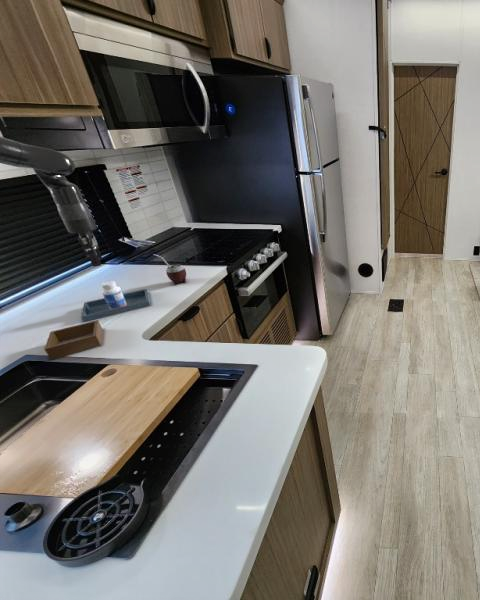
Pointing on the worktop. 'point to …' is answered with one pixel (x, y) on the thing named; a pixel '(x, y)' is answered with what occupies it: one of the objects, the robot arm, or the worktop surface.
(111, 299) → the pill bottle
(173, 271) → the mate gourd
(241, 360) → the worktop surface
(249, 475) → the worktop surface
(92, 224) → the robot arm
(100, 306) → the tray
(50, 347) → the basket
